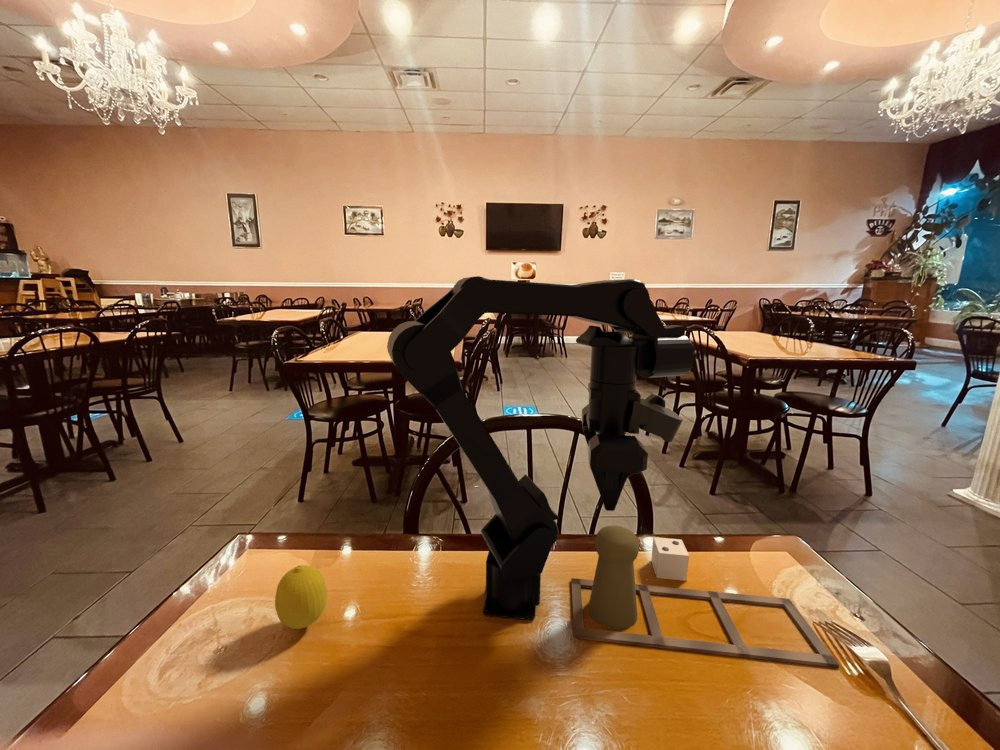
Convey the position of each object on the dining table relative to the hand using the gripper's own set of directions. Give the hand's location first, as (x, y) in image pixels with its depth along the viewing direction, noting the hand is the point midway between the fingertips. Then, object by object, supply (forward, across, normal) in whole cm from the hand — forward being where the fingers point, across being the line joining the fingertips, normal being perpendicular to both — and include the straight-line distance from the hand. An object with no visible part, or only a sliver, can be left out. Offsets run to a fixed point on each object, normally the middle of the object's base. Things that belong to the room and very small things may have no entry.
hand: (605, 493), depth 57 cm
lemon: (+13, -14, +36) cm, 41 cm away
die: (+13, +4, -10) cm, 17 cm away
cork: (+13, -6, -1) cm, 15 cm away
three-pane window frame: (+13, -6, -10) cm, 17 cm away
